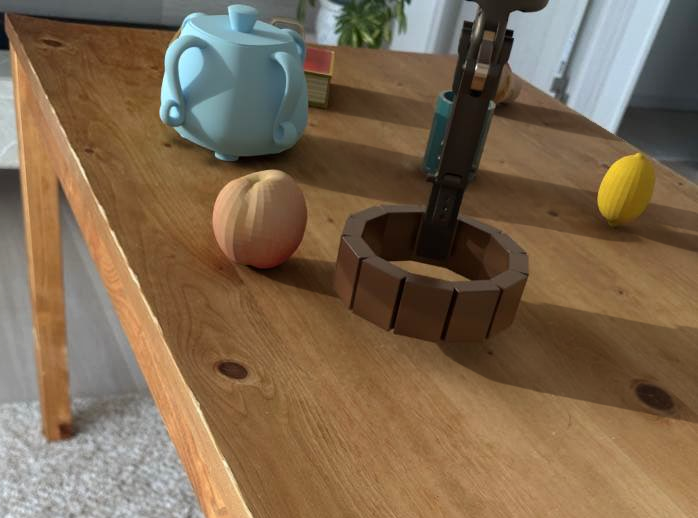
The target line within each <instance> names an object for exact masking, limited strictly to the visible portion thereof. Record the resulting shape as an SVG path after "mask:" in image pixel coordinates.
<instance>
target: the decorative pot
mask: <svg viewBox="0 0 698 518" xmlns="http://www.w3.org/2000/svg"><path fill="white" fill-rule="evenodd" d="M227 11H228V14H214V15H213V14H212V15H209V14H207V13H204V12H193V13H190V14H189V15H187V16H186V17H185V18H184V20H183V21H182V24H181V25H182V29H181V35H180V37H179V38H178V39H176V40H175V41H174V42H172V44H171V45H170V46H169V48H168V47H167V49H168V50H167V49H166V52H165V57H164V73H163V78H162V84H161V89H160V103H161V104H160V107H159V118H160V119H161V121H162V123H163V124H164V125H165V126H168V127H171V128H173V129H174V130H175V131H176V132H177V133H178V134H179V135H180V136H181V138H183V139H186V140H188V141H189V142H192V143H194V144H196V145H198V146H201V147H203V148H205V149H208V150H211V151H214V156H215V158H217V159H218V160H221V161H226V162H235V161H238V160H239V157H254V156H262V155H263V156H264V155H270V154H272V155H274V154H280V153H282V152H284V151H286V150H289V149H291V148H293V147H294V146H295V145H296V144H297V142H298V141H299V139H300V138H301V137H302V135H303V134H304V133H305V132H306V130H307V126H308V118H309V105H308V93H307V85H306V80H305V75H304V70H303V65H304V62H305V57H306V47H307V45H306V40H305V39H304V38H303V36H302V35H301V34H300V33H299V32H297V31H296V30H293V29H291V28H282V29H280V28H278V27H277V26H274V25H272V24H270V23H267V22H264V21H261V20H258V19H259V15H260V10H258V9H257V8H255V7H253V6H249V5H244V4H231V5H229V6H228V7H227Z"/></svg>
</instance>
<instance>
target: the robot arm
mask: <svg viewBox="0 0 698 518" xmlns="http://www.w3.org/2000/svg"><path fill="white" fill-rule="evenodd" d="M464 1H466V2H472V3H476V4H477V5H478V6H477V10H476V13H475V17H474V19H473V21H470V20H466V19H463V22H462V26H461V29H460V34H459V38H458V44H457V46H458V47H457V54H458V57H457V60H456V65H455V69H454V74H453V80H452V83H451V84H452V85H451V90H452V91H453V93H454V94H455V95H454V99H453V104H452V108H451V112H450V116H449V120H448V124H447V128H446V133H445V137H444V140H443V141H442V142H441V146H440V147H441V155H440V156H439V157H438V161H437V162H438V163H439V164H438V167H439V169H436V170H435V174H434V173H430V172H428V173H427V176H426V183H431V187H430V190H429V191H430V192H429V195H428V199H427V202H426V203H427V204H426V206H427V209H426V213H425V217H424V222H423V226H422V230H421V234H420V238H419V242H418V246H417V250H416V256H421V257H426V258H430V259H435V260H440V261H444V262H446V258H447V254H448V251H449V247H450V243H451V240H452V236H453V232H454V228H455V225H456V221H457V217H458V214H459V213H460V210H461V205H462V202H463V199H464V195H465V191H466V189H468V186H469V185H470V182H471V181H470V179H469V175H470V173H472V174H474V173H475V170H476V163H473V161H474V157H475V154H476V150H477V146H478V143H479V139H480V136H481V132H482V129H483V125H484V121H485V118H486V114H487V111H488V107H489V104H490V101H491V100H493V99H494V98H495V96H496V92H497V89H498V85H499V81H500V78H501V74H502V70H503V67H504V65H505V64H506V63H507V62H508V63H509V60H510V56H511V52H512V50H513V46H514V41H515V38H514V32H515V30H514V29H511V28H508V23H509V19H510V15H511V13H513V12H520V13H526V14H528V13H537V12H539V11H540V12H541V11H542V10H544V9H545V8H546V7H547V6H548V4H549V2H550V0H464ZM469 181H470V182H469Z"/></svg>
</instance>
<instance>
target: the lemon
mask: <svg viewBox="0 0 698 518" xmlns="http://www.w3.org/2000/svg"><path fill="white" fill-rule="evenodd" d="M655 185H656V171H655V168H654V166H653V164H652V163H651V161H650V160H649V159H647V157H646V156H645V154H644V153H642V152H637V153H635V154H630V155H626V156H623V157H621V158H619V159H618V160H616V161H615V162H613V164H612V165H610V167H609V169H607V171H606V173H605V175H604V177H603V178H602V181H601V183H600V186H599V189H598V193H597V206H598V210H599V212H600V214H601V215H602V216H603V218H605V219H606V221H607V223H608V226H610V227H616V226H618V225H620V224H625V223H629V222H632V221H633V220H635V219H637V218H638V217H639V216H641V214H643V212H644V211H645V210H646V208H647V207H648V205H649V203H650V201H651V199H652V197H653V194H654V191H655Z"/></svg>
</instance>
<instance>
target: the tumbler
mask: <svg viewBox="0 0 698 518" xmlns="http://www.w3.org/2000/svg"><path fill="white" fill-rule="evenodd" d="M454 95H455V94H454V93H453V91H452V89H444V90H442V91H439V93H438V97H437V102H436V105H435V110H434V114H433V119H432V123H431V126H430V131H429V135H428V139H427V143H426V147H425V152H424V156H423V159H422V163H421V168H422V169H423V171H424V172H425V173H426V174H428V172H430V173H434V174H435V170H436V169H439V167H438V164H439V163H438V162H437V161H438V157H439V156H440V155H441V147H440V146H441V142H442V141H443V140H444V137H445V133H446V128H447V124H448V120H449V116H450V112H451V108H452V104H453V99H454ZM495 110H496V105H495V103H494V102H493V101H492V100H491V101H490V104H489V107H488V111H487V114H486V118H485V121H484V125H483V129H482V132H481V136H480V139H479V143H478V146H477V150H476V154H475V157H474V161H473V163H476V170H475V173H474V174H472V173H470V175H469V179H470V181H469V183H470V182H471V181H472V182H473V181H474V180H475V178H476V175H477V174H478V169H479V167H480V163H481V159H482V156H483V153H484V149H485V145H486V142H487V139H488V135H489V132H490V127H491V124H492V121H493V117H494V114H495Z"/></svg>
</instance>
